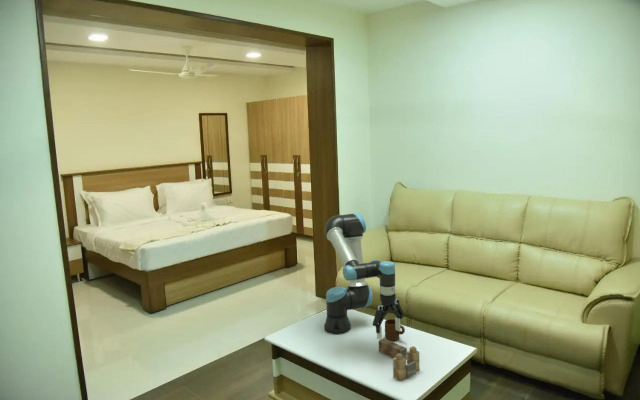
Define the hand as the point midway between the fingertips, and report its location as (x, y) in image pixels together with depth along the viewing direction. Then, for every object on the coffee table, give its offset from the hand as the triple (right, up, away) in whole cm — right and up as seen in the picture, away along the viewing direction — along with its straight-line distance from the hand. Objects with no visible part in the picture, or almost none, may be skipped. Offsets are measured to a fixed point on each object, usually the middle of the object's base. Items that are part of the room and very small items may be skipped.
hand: (388, 334), depth 219 cm
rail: (+2, -10, 0) cm, 11 cm away
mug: (+6, -8, +17) cm, 20 cm away
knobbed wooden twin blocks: (+5, -13, -17) cm, 22 cm away
